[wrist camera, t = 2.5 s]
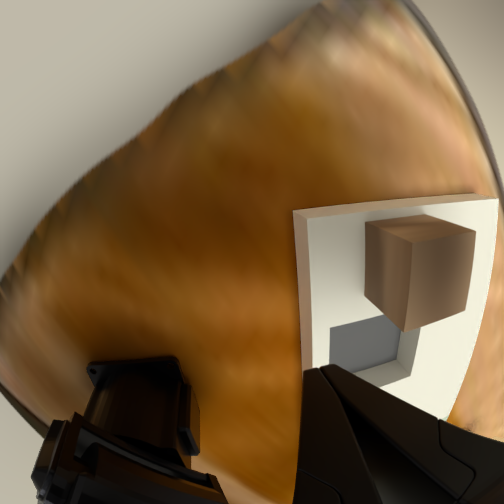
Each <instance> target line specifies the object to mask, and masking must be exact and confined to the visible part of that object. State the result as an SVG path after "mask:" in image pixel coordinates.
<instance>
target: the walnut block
mask: <svg viewBox="0 0 504 504" xmlns="http://www.w3.org/2000/svg"><path fill="white" fill-rule="evenodd" d="M475 240H476V231H475V230H472V229H469V228H466V227H463V226H460V225H457V224H454V223H451V222H448V221H445V220H442V219H439V218H436V217H433V216H430V215H426V214H423V215H415V216H407V217H399V218H391V219H383V220H375V221H367V222H365V285H364V296H365V297H366V298H367V299H368V300H369V301H370V302H371V303H372V304H374V305H375V306H376V307H377V308H378V309H379V310H380V311H381V312H382V313H383V314H384V315H385V316H386V317H388V318H389V319H390V320H391V321H392V322H393V323H394V324H395V325H396V326H397V327H398V328H399V329H400V330H401V331H402V332H403V333H405V332H408V331H411V330H414V329H417V328H420V327H423V326H426V325H428V324H431V323H434V322H437V321H439V320H442V319H445V318H447V317H450V316H453V315H455V314H458V313H460V312H463V311H465V308H466V304H467V298H468V293H469V287H470V281H471V274H472V267H473V259H474V251H475Z"/></svg>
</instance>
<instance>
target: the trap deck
mask: <svg viewBox="0 0 504 504" xmlns="http://www.w3.org/2000/svg"><path fill="white" fill-rule="evenodd" d="M423 214H426V215H430V216H433V217H436V218H439V219H442V220H445V221H448V222H451V223H454V224H457V225H460V226H463V227H466V228H469V229H472V230H475V231H476V240H475V251H474V259H473V267H472V274H471V281H470V287H469V293H468V298H467V304H466V308H465V311H463V312H460V313H458V314H455V315H453V316H450V317H447V318H445V319H442V320H439V321H437V322H434V323H431V324H428V325H426V326H423V327H420V328H417V329H414V330H411V331H408V332H405V333H403V332H402V331H401V330H400V329H399V328H398V327H397V326H396V325H395V324H394V323H393V322H392V321H391V320H390V319H389V318H388V317H386V316H385V315H384V314H383V313H382V312H381V311H380V310H379V309H378V308H377V307H376V306H375V305H374V304H372V303H371V302H370V301H369V300H368V299H367V298H366V297H365V296H364V285H365V222H367V221H375V220H383V219H391V218H399V217H407V216H415V215H423ZM497 219H498V198H494V197H489V196H485V195H480V194H476V193H471V194H456V195H442V196H429V197H416V198H405V199H394V200H383V201H373V202H363V203H353V204H344V205H335V206H326V207H317V208H308V209H300V210H293V222H294V234H295V247H296V261H297V276H298V292H299V310H300V331H301V357H302V379H303V371H304V370H307V369H311V368H315V367H317V368H319V367H320V366H324V365H328V364H332V363H334V364H337V365H338V366H340V367H342V368H344V369H345V370H347V371H349V372H351V373H353V374H355V375H356V376H358V377H360V378H362V379H364V380H366V381H367V382H369V383H371V384H373V385H375V386H377V387H379V388H380V389H382V390H384V391H386V392H388V393H390V394H392V395H394V396H396V397H398V398H400V399H402V400H403V401H405V402H407V403H409V404H411V405H413V406H415V407H417V408H419V409H421V410H423V411H425V412H427V413H429V414H431V415H434V416H436V417H437V418H438V419H442V420H444V421H446V420H447V418H448V416H449V414H450V411H451V409H452V407H453V404H454V402H455V400H456V397H457V395H458V392H459V390H460V387H461V385H462V382H463V379H464V376H465V374H466V371H467V368H468V365H469V362H470V359H471V356H472V353H473V350H474V346H475V343H476V339H477V336H478V332H479V329H480V325H481V321H482V317H483V313H484V308H485V304H486V299H487V294H488V289H489V284H490V278H491V272H492V266H493V259H494V251H495V242H496V232H497Z"/></svg>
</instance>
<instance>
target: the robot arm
mask: <svg viewBox="0 0 504 504" xmlns="http://www.w3.org/2000/svg"><path fill="white" fill-rule="evenodd" d="M169 363H171V364H174V366H170V365H168V364H169ZM92 368H93V369H95V370H96V371H94V370H93V369H92ZM86 370H87V373H88V375H89V377H90V379H91V381H92V383H93V385H94V387H95V388H94V390H93V393H92V395H91V398H90V400H89V403H88V405H87V408H86V410H85V413H84V415H83V416H81V415H80V414H78V413H76V412H74V413H73V415H72V416H71V418H70V420H69V421H68V420H64V421H61V420H53V422H52V423H51V426H50V428H49V430H48V432H47V435H46V437H45V439H44V441H43V444H42V447H41V449H40V451H39V454H38V457H37V460H36V463H35V465H34V468H33V471H32V474H31V479H32V481H33V483H34V485H35V487H36V489H37V495H36V498H37V499H38V504H229V503H228V502H227V500H226V497H225V495H224V493H223V491H222V489H221V487H220V484H219V482H218V480H217V478H216V476H214V475H211V474H208V473H206V474H204V473H201V472H198V471H195V470H192V469H191V456H197V455H198V454H199V453H200V410H199V407H198V404H197V401H196V398H195V395H194V391H193V388H192V386H191V385H190V384H188V383H187V384H186V382H185V379H184V376H183V373H182V370H181V367H180V364H179V361H178V360H177V359H176V358H175V357H159V358H148V359H136V360H122V361H104V362H90V363H89V364H88V366H87V369H86ZM292 504H504V442H500V441H497V440H493V439H490V438H487V437H484V436H481V435H478V434H475V433H472V432H469V431H467V430H464V429H462V428H460V427H457V426H455V425H453V424H451V423H448V422H446V421H444V420H442V419H438V418H437V417H436V416H434V415H431V414H429V413H427V412H425V411H423V410H421V409H419V408H417V407H415V406H413V405H411V404H409V403H407V402H405V401H403V400H402V399H400V398H398V397H396V396H394V395H392V394H390V393H388V392H386V391H384V390H382V389H380V388H379V387H377V386H375V385H373V384H371V383H369V382H367V381H366V380H364V379H362V378H360V377H358V376H356V375H355V374H353V373H351V372H349V371H347V370H345V369H344V368H342V367H340V366H338V365H337V364H334V363H332V364H328V365H324V366H320V367H319V368H317V367H315V368H311V369H307V370H304V371H303V379H302V401H301V419H300V435H299V449H298V462H297V473H296V482H295V490H294V497H293V503H292Z"/></svg>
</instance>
